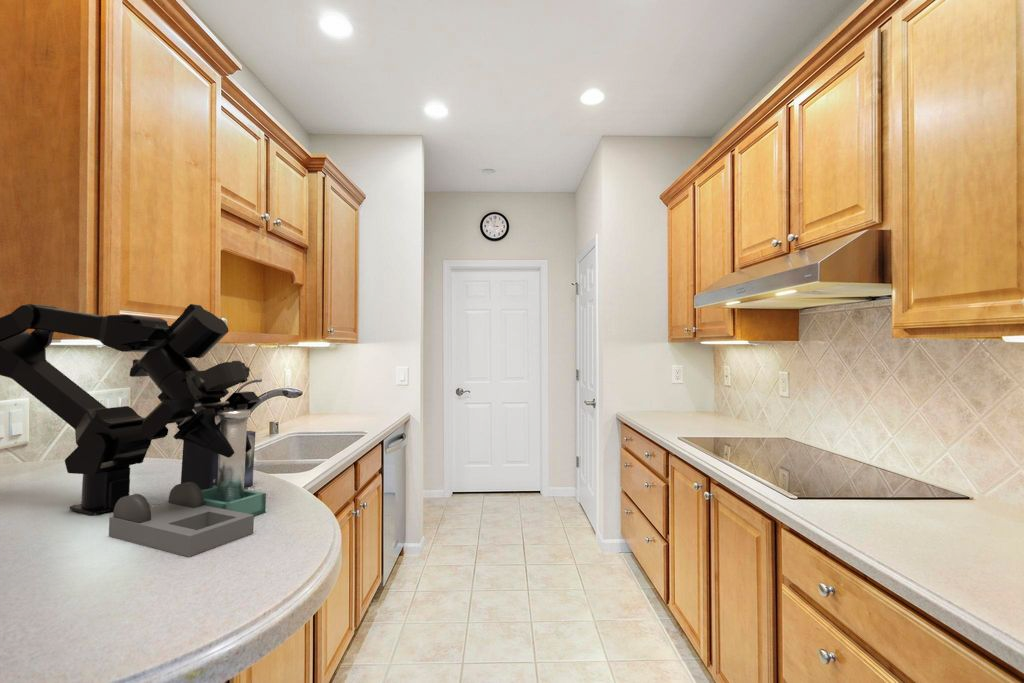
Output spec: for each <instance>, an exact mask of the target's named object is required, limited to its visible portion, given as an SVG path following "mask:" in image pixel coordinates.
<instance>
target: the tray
mask: <svg viewBox="0 0 1024 683" xmlns="http://www.w3.org/2000/svg"><path fill="white" fill-rule="evenodd" d="M201 492H202V495H203V505H206V506H211V507H216V508H221V509H226V510H231V511H236V512H241V513H247V514H252V515H254V517H256V516H259V515H262V514H265V513H266V510H267V509H266V507H267V506H266V505H267V493H266V492H261V491H255V490H251V489H250V490H249V489H246V488H244V497H243V498H242V499H238V500H235V501H231V502H228V503H227V502H222V501H217V500H216V499H217V487H214V488H210V489H206V490H202V491H201Z"/></svg>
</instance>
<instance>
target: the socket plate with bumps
mask: <svg viewBox="0 0 1024 683" xmlns="http://www.w3.org/2000/svg"><path fill="white" fill-rule="evenodd" d="M112 512H113V513H112V516H109V522H108V537H110V538H115V539H117V540H118V539H119V540H123V541H125V542H126V541H127V542H130V543H133V544H138V545H142V546H145V547H149V548H152V547H153V549H156V550H160V551H165V552H168V553H172V554H177V555H181V556H183V557H187V558H190V557H193V556H196V555H198V554H201V553H204V552H206V551H209V550H212V549H215V548H216V547H220V546H222V545H225V544H228V543H231V542H234V541H236V540H239V539H242V538H244V537H246V536H250V535H252V534H254V524H255V523H254V522H255V518H254V517H255V516H254V515H252V514H247V513H241V512H236V511H231V510H226V509H221V508H216V507H211V506H206V505H203V495H202V492H201V490H200V488H199V487H198V486H197V485H196V484H195V483H193V482H186V483H182V484H181V483H178V484H175V485H174V486H172V488H171V490H170V492H169V495H168V500H167V502H164V503H161V504H160V503H159V504H156V505H152V506H150V504H149V501H148V500H147V498H145V496H144V495H142V494H140V493H133V494H129V496H125V497H122V498H120V499H119V500H118V501H117V503H116V505H115V507H114V510H113V511H112Z"/></svg>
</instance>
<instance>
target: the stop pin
mask: <svg viewBox="0 0 1024 683" xmlns="http://www.w3.org/2000/svg"><path fill="white" fill-rule="evenodd" d="M251 411H252V410H246V409H229V410H219V411H218V417H217V418H219V419H220V430H221V432H222V433H223V435H224V436H225V438H226V439H227V441H228V442H229V443H230V445H231V447H232V449H233V450H234V454H233V455H232V456H231V457H229V458H228V457H225V456H223V455H220V454H219V458H218V479H217V499H216V500H217V501H222V502H227V503H228V502H231V501H235V500H238V499H242V498H243V497H244V489H245V488H244V476H245V455H246V434H247V431H248V419H249V418H251Z"/></svg>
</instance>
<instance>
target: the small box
mask: <svg viewBox="0 0 1024 683" xmlns="http://www.w3.org/2000/svg"><path fill="white" fill-rule="evenodd" d="M256 433H257V432H256V431H253V430H247V435H248V438H249V441H250V444H251V449H250V450H249V451H248V452H246V455H245V476H244V489H247V488H251V487H253V485H254V467H255V466H254V465H255V446H256ZM182 442H183V444H182V458H181V472H180V474H181V476H180V484H182V483H186V482H193V483H195V484H196V485H197V486H198V487H199V488H200V490H201V491H202V490H206V489H210V488H214V487H217V479H218V458H219V454H218V453H216V452H213V451H211V450H208V449H206V448H203V447H201V446H198V445H195V444H192V443H190V442H187V441H184V440H182Z"/></svg>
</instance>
